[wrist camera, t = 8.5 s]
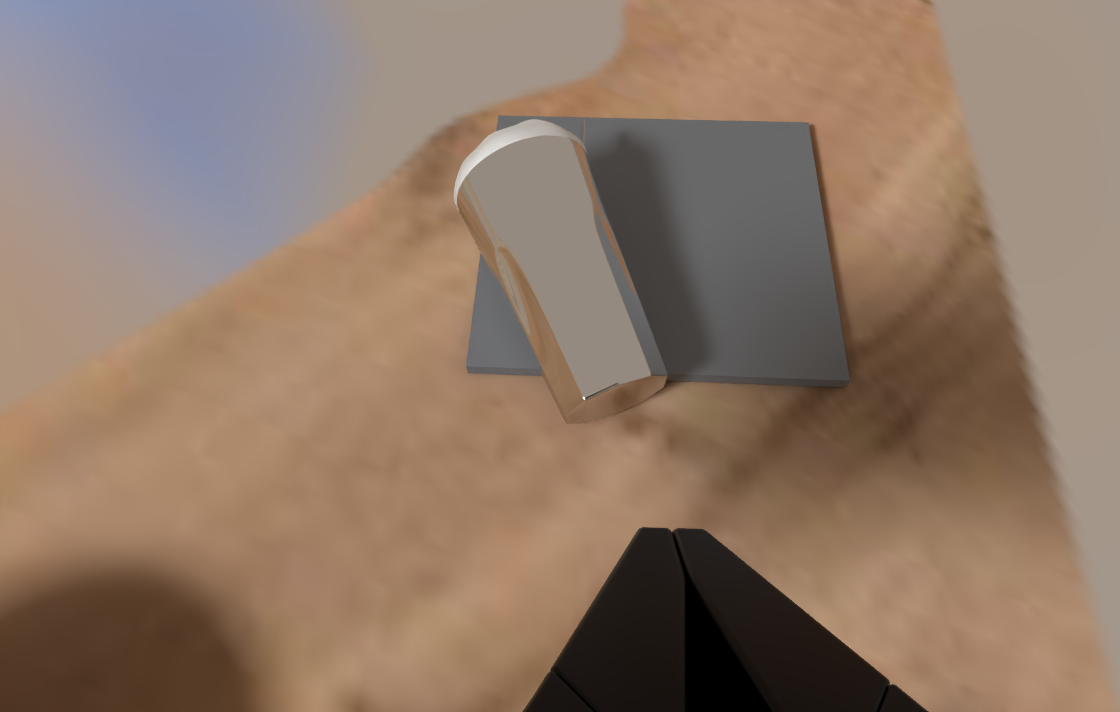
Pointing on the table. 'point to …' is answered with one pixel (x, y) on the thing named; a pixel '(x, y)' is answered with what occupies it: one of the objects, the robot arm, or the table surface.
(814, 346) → the mat
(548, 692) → the robot arm
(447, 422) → the table surface
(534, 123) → the milkshake
